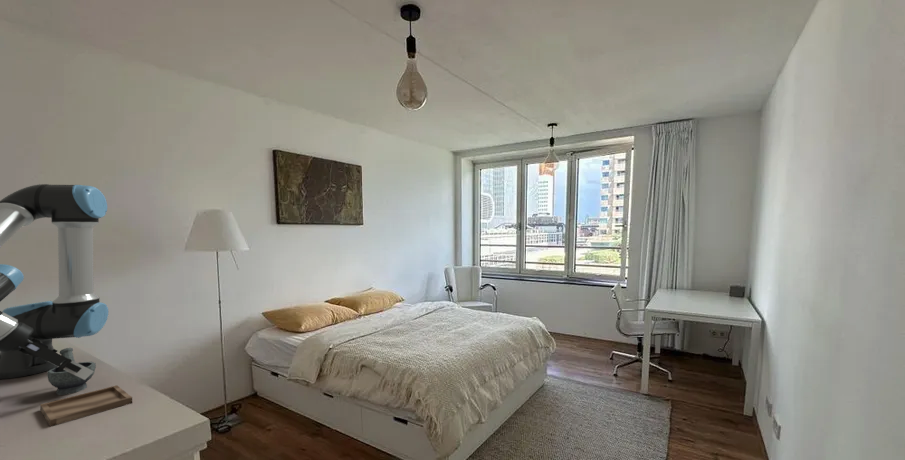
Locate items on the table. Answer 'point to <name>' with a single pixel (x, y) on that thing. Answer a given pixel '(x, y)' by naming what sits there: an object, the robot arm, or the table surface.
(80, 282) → the robot arm
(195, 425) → the table surface
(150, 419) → the table surface
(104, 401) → the walnut tray
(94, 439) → the table surface
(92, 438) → the table surface
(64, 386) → the mortar and pestle
